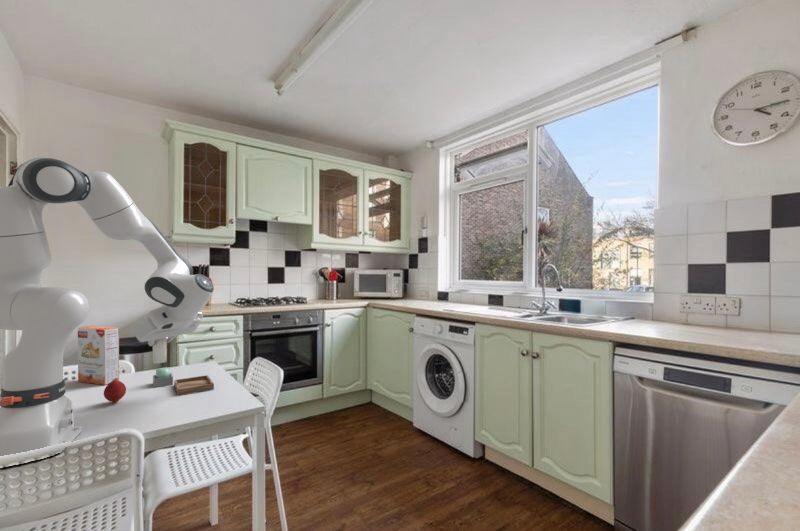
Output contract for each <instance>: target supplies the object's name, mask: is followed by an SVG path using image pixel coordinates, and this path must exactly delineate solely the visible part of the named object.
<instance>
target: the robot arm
mask: <svg viewBox="0 0 800 531" xmlns="http://www.w3.org/2000/svg"><path fill="white" fill-rule="evenodd" d="M73 202H75V203H77V205H79V206H81V208H83V210H84V211H85V213H87V215H88V217H89V218H90V219H91V221H92V222H93V223H94V225H95V226H96V227H97V229H98V231H100V232H101V233H102V234H104V235H105V236H106V237H107V238H110V239H113V240H115V241H130V240H135V241H138V242H140V243H141V244H142V246H144V248H146V250H147V251H148V252H149V254H151V256H152V257H153V258H154V259H155V260H156V264H157V268H156V269H155V271H153V272H152V274H151V275H150V276H149V278H148V279H147V280H146V281H145V283H144V291H145V294H146V296H148V298H149V299H151V300H152V301H154V302H157V303H159V304H162V305H164V306H162V307H159V308H156V309H153V310H149V311H150V312H148V314H147V315H148V317H146V318H145V319H144V320H143V321H142V322H141V323H140V324H139V325H138V327H137V328H136V330H135V332H134V337H135V338H136V339H137V341H138V342H139V343H145V342H147V345H148V346H149V347H153V346H154V345H155V344H156V343H157V342H156V341H155V340H157V339H162V338H167V344H168V343H170V342H171V341H172V340H174V339H176V338H177V337H178V336H181V335H182V336H183V335H186V334H187V335H188V334H192V333H194V332H196V330H197V329H198V327H199V326H200V324H201V323H202V319H203V317H204V313H203V312H201V311H202V310H203V309H204V308H205V306H207V304H208V302H209V301H210V299H211V298H212V296H213V293H214V289H215V288H214V284H213V283H212V281H211V279H210V278H209V277H207V276H206V275H204V274H201V273H197V274H194V268H193V265H192V264H191V263H190V261H189V260H188V259H186V258H185V257H183V255H181V254H180V253H179V252H177V250H176V249H175V248H174V247H173V245H172V244H171V243H170V242H169V241H168V240H167V238H166V237H165V236H164V234H163V233H162V232H161V231H160V230H159V228H158V227H157V226H156V225H155V223H153V221H151V220H150V219H149V218H147V217H146V216H145V214H143V213H142V211H141V210H140V208H138V206H137V205H136V202H134V200H133V198H132V197H131V196H130V195H129V194H128V192H127V191H126V189H124V187H123V186H122V185H121V184H120V183H119V181H117V180H116V179H115V177H114V176H112V174H110V173H109V172H106V171H102V170H101V171H100V170H94V171H88V172H83V171H82V170H79V169H78V168H76V167H75V166H73V165H71V164H69V163H67V162H65V161H63V160H60V159H56V158H50V157H36V158H32V159H29V160H26V161H25V162H23V163H22V164H20V165H19V166H18V167H17V169H16V170H15V171H14V173H13V176H12V177H11V180H10V182H9V184H7V186H0V330H3V331H5V330H6V331H21V336H20V339H19V342H18V343H17V345H16V347H15V348H13V349H12V350H11V351H8V352H7V354H5V356H4V358H3V362H2V373H3V374H2V375H3V376H2V382H3V386H2V388H1V390H0V456H4V455H10V454H16V453H21V452H27V451H30V450H35V449H40V448H44V447H47V446H52V445H56V444H61V443H65V442H69V441H72V442H74V440H75V439H76V438H77V437H78V435H79V434H80V433H81V432H82V431H83V427H82V426H81V425H74V408H73V406H74V405H73V402H74V401H73V400H72V399H70V398H68V397H67V396H66V395H65V394H66V387H67V386H66V385H67V384H66V380H65V379H64V355H65V348H66V346H67V343H68V341H69V338H70V336H71V334H73V332H74V330H76V328H79V326H80V325H81V324H83V323H84V322H85V321H86V319H87V317H88V315H89V312H90V303H89V300H88V298H87V297H86V295H84V294H83V293H82V292H80V291H77V290H73V289H70V288H66V287H65V288H64V287H51V286H50V287H47V286H46V287H43V286H42V285H41V277H42V276H41V275H42V272H43V270H45V269H46V268H47V267H48V266H49V265H50V264H51V262H52V255H51V249H50V246H49V245H50V244H49V241H48V236H47V233H46V228H45V225H44V222H43V210H44V208H45V206H46V205H48V204H64V203H65V204H66V203H73Z"/></svg>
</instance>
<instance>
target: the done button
mask: <svg viewBox="0 0 800 531" xmlns="http://www.w3.org/2000/svg"><path fill="white" fill-rule="evenodd" d="M170 373H171V370H170V367H160V368H156V369H155V375H156V379H157V378H164V377H170Z"/></svg>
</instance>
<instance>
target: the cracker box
mask: <svg viewBox="0 0 800 531" xmlns="http://www.w3.org/2000/svg"><path fill="white" fill-rule="evenodd" d="M114 378H118V381H120V328H119V327H116V326H115V327H114V326H105V325H104V326H103V325H87V326H80V327H79V326H78V327H77V380H78V381H77V382H78V383H79V382H80V383H85V384H93V383H94V385H99V386H100V385H101V386H107V385H108V384H109V383H110V382H112V381H113V379H114Z"/></svg>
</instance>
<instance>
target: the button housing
mask: <svg viewBox="0 0 800 531" xmlns="http://www.w3.org/2000/svg"><path fill="white" fill-rule="evenodd" d="M173 378H174V376H173V373H172V372H170V377H164V378H157V379H156V374H153V375H152V386H153V388H160V386H161V387H165V386H166V385H167V386H173V385H174V379H173Z"/></svg>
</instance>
